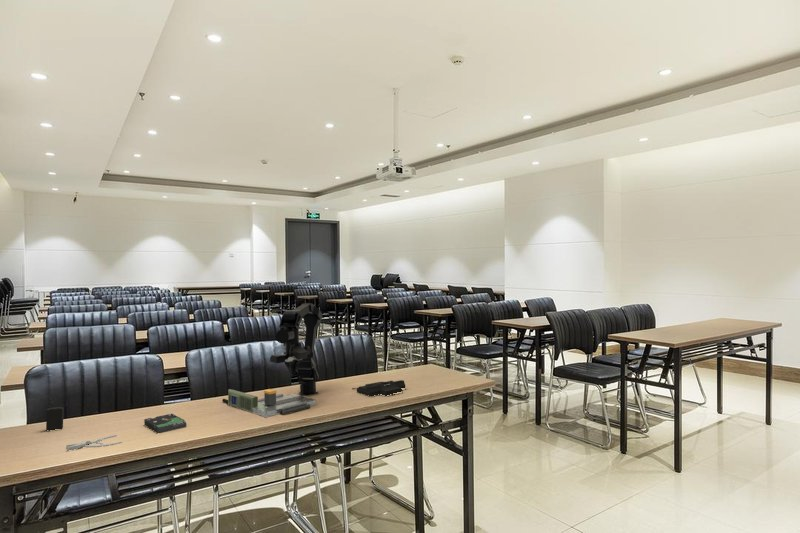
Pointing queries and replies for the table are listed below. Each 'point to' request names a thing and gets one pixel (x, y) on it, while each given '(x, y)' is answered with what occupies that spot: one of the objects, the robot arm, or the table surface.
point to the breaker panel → (280, 404)
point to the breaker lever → (270, 396)
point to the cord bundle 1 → (294, 407)
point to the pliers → (85, 443)
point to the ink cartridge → (54, 418)
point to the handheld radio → (241, 400)
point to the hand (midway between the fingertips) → (292, 376)
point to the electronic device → (381, 388)
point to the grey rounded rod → (276, 397)
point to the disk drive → (165, 423)
